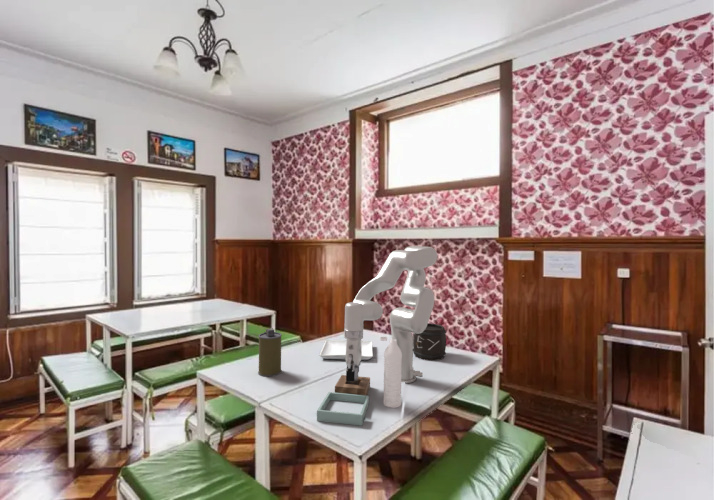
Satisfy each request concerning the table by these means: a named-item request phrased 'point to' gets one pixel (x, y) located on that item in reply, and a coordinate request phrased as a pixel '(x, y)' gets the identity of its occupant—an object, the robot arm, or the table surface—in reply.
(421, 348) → the black cylinder
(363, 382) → the block
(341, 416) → the tray
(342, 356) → the square plate
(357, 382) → the steel pin
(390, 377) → the water bottle
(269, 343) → the canister
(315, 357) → the table surface
